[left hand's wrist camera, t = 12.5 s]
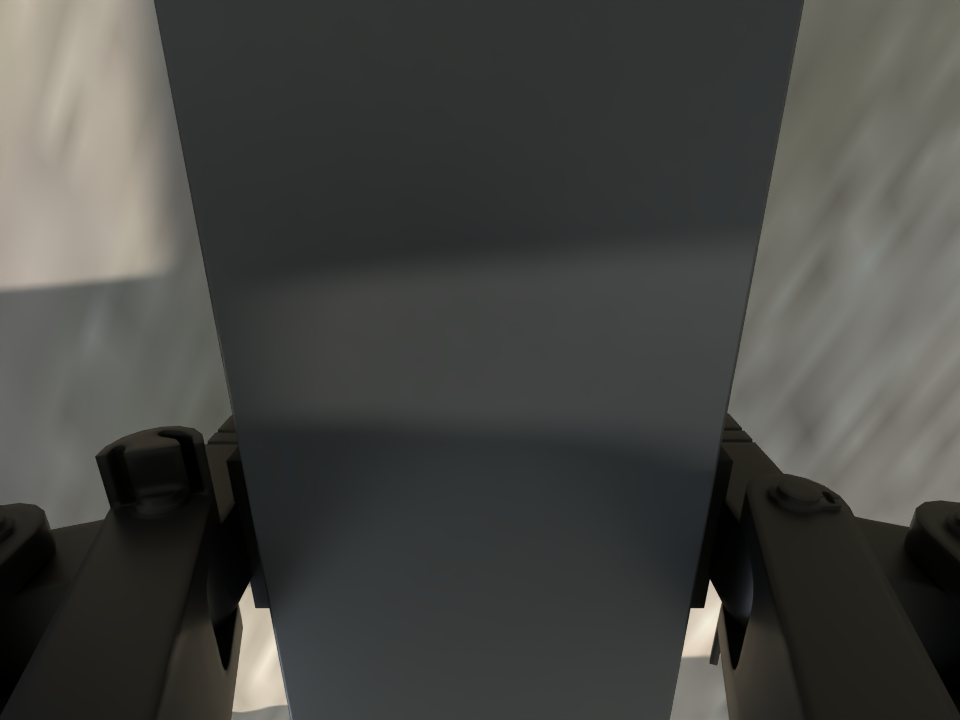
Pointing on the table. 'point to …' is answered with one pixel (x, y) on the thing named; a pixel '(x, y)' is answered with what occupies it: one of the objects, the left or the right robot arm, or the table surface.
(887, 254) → the table surface
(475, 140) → the post
